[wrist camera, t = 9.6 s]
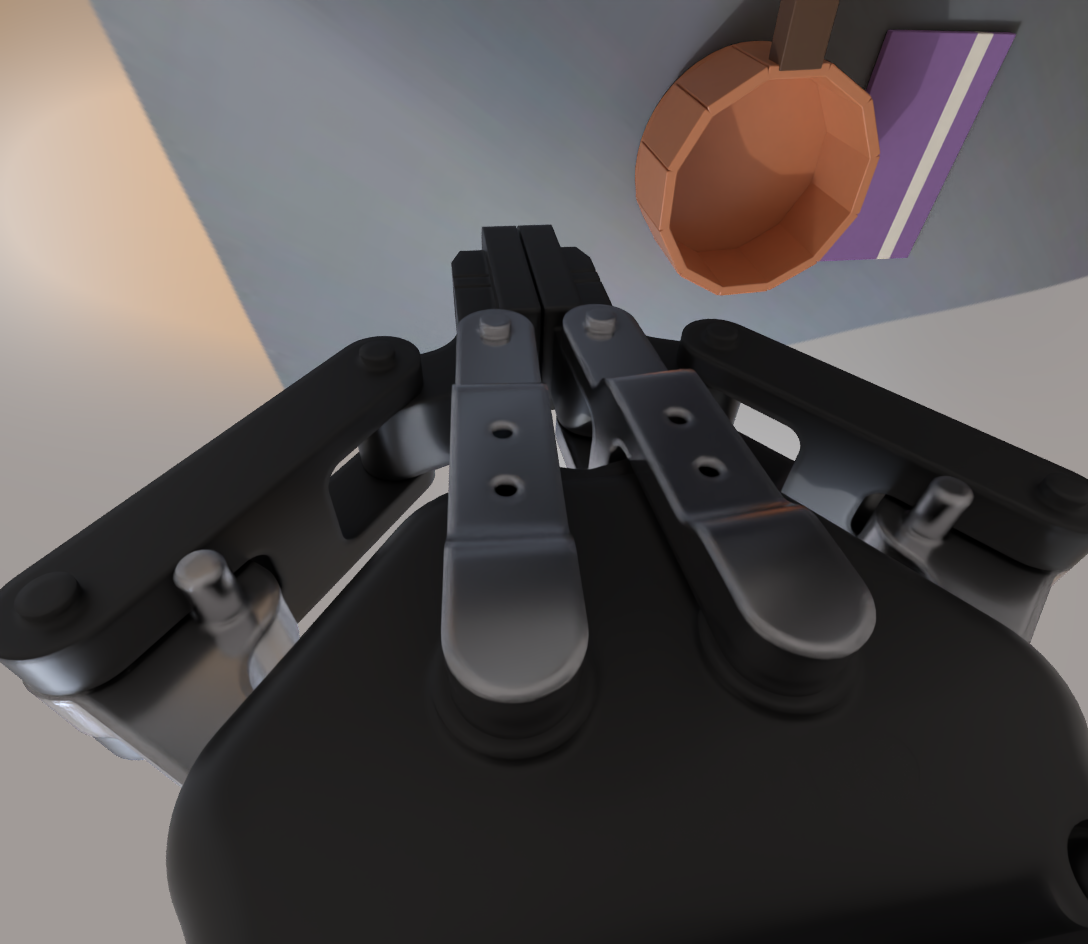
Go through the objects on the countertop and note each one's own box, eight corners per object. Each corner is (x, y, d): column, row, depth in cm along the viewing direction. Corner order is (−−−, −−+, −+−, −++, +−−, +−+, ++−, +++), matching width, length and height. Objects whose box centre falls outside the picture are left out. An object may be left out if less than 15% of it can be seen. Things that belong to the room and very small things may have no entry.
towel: (887, 29, 28) (892, 31, 27) (1010, 32, 29) (1017, 33, 28) (804, 258, 36) (807, 261, 35) (903, 254, 36) (907, 258, 36)
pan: (668, -183, 22) (714, -190, 19) (923, -184, 23) (1008, -191, 20) (626, 261, 34) (650, 303, 31) (795, 246, 35) (835, 285, 32)
